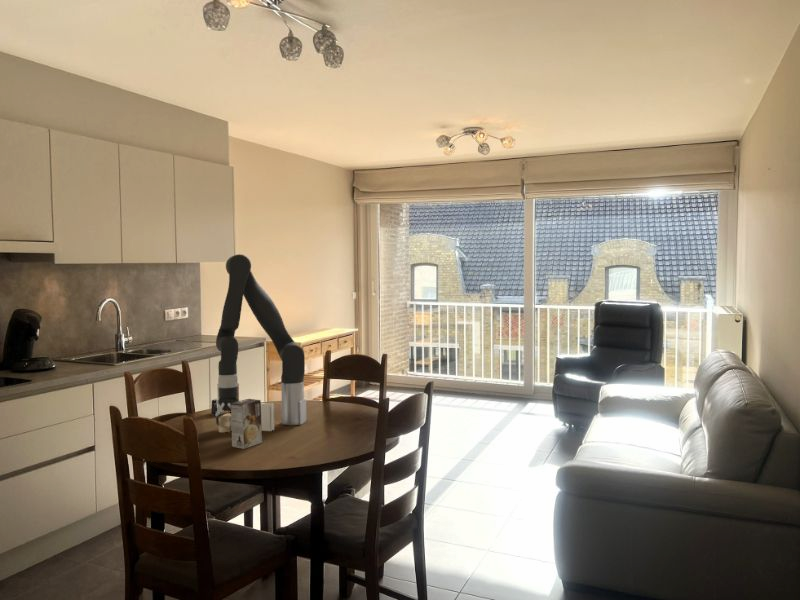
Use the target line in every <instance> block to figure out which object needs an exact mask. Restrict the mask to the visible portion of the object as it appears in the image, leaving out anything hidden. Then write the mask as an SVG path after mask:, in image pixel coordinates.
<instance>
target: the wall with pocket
mask: <svg viewBox="0 0 800 600" xmlns="http://www.w3.org/2000/svg"><path fill="white" fill-rule="evenodd" d="M261 427H262V432H272V430H273V431H275V403H274V402H261Z"/></svg>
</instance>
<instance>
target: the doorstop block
mask: <svg viewBox="0 0 800 600" xmlns="http://www.w3.org/2000/svg"><path fill="white" fill-rule="evenodd" d="M218 418H219V426H218V433H225V432H230V433H232V432H231V431H232V427H231V413H224V414H222V416H220V417H218Z"/></svg>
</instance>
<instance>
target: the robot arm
mask: <svg viewBox="0 0 800 600" xmlns="http://www.w3.org/2000/svg"><path fill="white" fill-rule="evenodd" d="M251 268H252V263H251V260H250V258H249V257H247V256H246V255H244V254H240V253H239V254H235V255H232V256H230V257H229V258H228V259H227V260H226V263H225V269H226V272H227V274H228V276H229V277H228V287H227V292H226V296H225V300H224V304H223V308H222V312H221V321H220V325H219V326H220V327H219V329H218V331H217V335H216V339H215V346H216V348H217V350H218V351H219V352H220V360H219V362H218V377H217V378H218V380H217V384H218V392H217V394H218V393H219V400H218V398H213V399H212V400H211V405H210V407H211V408H210V409H211V411H210V413H211V415H212V416H215V418H216V419H215V421H216V422H215V423H216V425H217V426H218V427H219V418H218V417H220V416H223V414H222V412H223V411H231V403H233V402H237V401H240V399H239V400H238V384H239V381H238V368H237V367H238V365H237V361H238V355H239V343H238V340H237V338H236V337H235V333H236V331H237V330H238V329H239V326H240V320H241V314H242V306H243V299H245V301H246V303H247V305H248V306H249V309H250V310H251V312H252V314H253V316H254V317H255V318H256V320H257V321H258V324H260V326H261V327H262V329H263V330H264V332H265V333H266V334H267V335H268V337H269V339H270V340H271V341H272V343H273V346H274V347H275V350H276V351H277V354H278V355H279V358H280V360H281V362H282V364H281V365H282V367H281V368H282V369H281V378H280V380H281V381H280V382H281V383H280V387H281V390H280V391H281V392H280V393H281V422H282V423H281V424H282V425H285V426H297V425H298V426H299V425H303V424H304V423H306V422H307V399H306V398H305V387H304V385H305V379H304V378H305V372H306V371H305V367H306V366H305V363H306V362H305V360H306V359H305V358H306V357H305V351H304V349H303V348H302V346H301V345H299V344H297V343H296V342H295V340H294V339H293V338H292V336H291V335H290V333H289V332H288V330H287V329H286V326H285V323H284V320H283V318H282V316H281V314H280V312H279V309H278V308H277V307H276V305H275V304H276V303H274V301H273V299H272V298H271V297H270V296H269V294H268V293H267V292H266V291H265V290H264V289H263V288H262V286H261V285H260V284H259V283H258V282H257V279H256V278H255V277H254V274H253V272H252V270H251ZM218 403H219V405H220V408H219V409H218Z"/></svg>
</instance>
